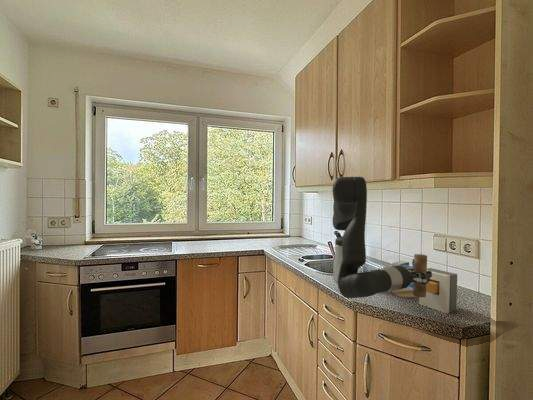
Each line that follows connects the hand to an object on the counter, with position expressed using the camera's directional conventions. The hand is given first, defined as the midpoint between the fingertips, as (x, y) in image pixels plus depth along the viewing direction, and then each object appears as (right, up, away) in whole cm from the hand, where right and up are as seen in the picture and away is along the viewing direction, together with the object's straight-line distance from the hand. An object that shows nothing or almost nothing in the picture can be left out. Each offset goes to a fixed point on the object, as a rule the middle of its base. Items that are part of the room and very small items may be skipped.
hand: (423, 272), depth 106 cm
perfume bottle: (+12, -14, +30) cm, 35 cm away
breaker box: (+7, -14, +4) cm, 16 cm away
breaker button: (+4, -7, +2) cm, 9 cm away
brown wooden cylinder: (-2, -8, -1) cm, 8 cm away
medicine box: (+10, -13, +40) cm, 43 cm away
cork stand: (+1, -13, +18) cm, 23 cm away
